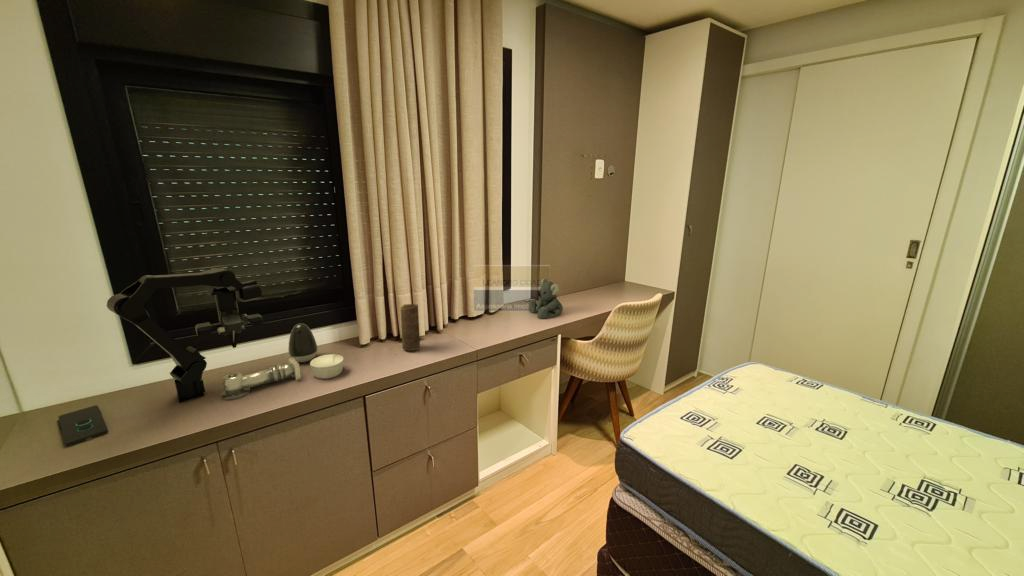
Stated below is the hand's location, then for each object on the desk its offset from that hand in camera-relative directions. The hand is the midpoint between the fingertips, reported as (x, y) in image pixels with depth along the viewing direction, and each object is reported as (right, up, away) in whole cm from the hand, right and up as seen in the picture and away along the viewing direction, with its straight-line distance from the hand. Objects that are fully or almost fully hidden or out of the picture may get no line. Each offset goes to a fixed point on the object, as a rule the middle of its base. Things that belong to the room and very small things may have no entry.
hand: (234, 347), depth 137 cm
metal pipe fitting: (+11, -13, -2) cm, 17 cm away
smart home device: (-25, -19, -25) cm, 41 cm away
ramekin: (+29, -11, +8) cm, 32 cm away
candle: (+54, -6, +30) cm, 63 cm away
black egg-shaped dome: (+15, -8, +19) cm, 25 cm away
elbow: (+9, -13, -4) cm, 16 cm away
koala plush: (+118, +6, +81) cm, 143 cm away
